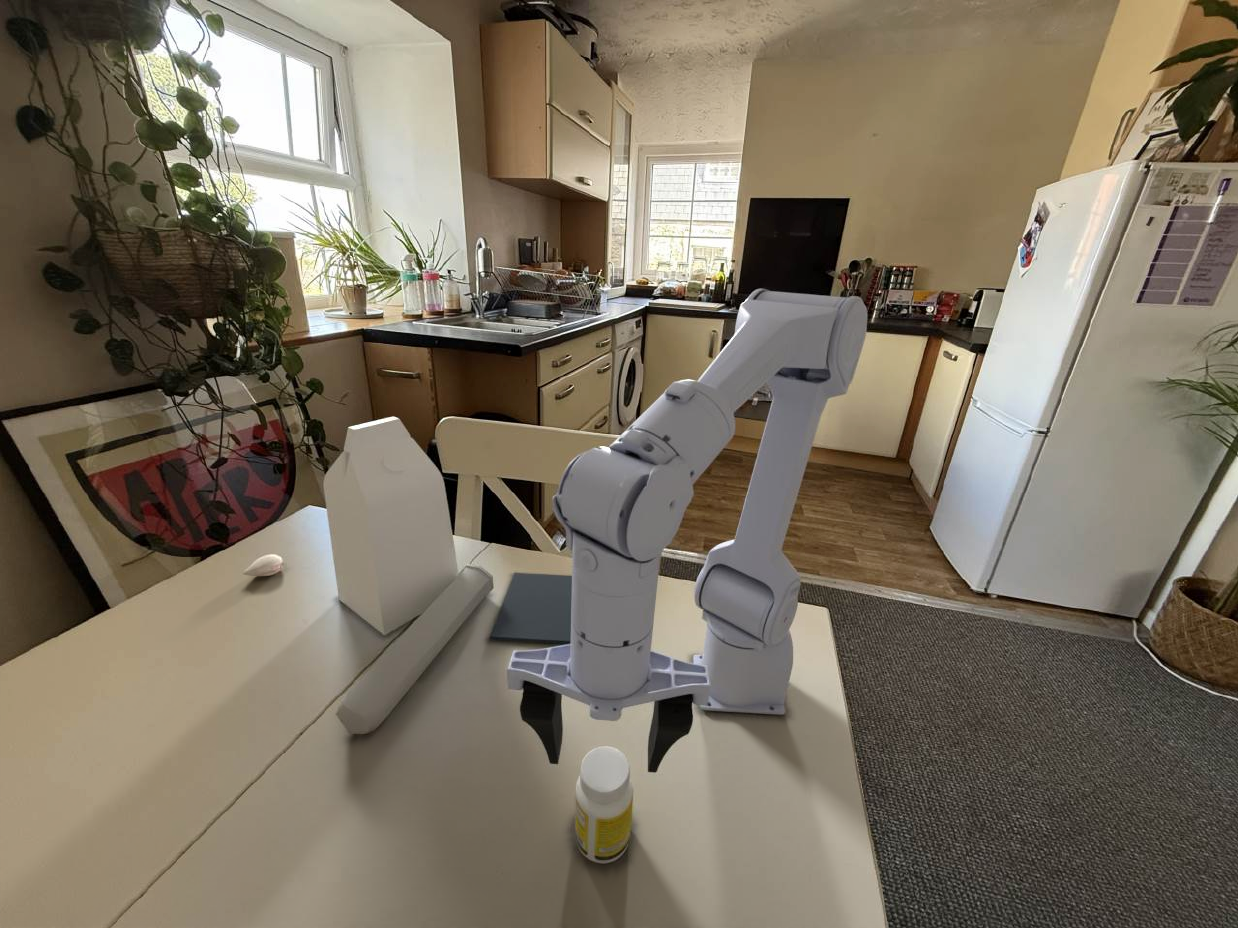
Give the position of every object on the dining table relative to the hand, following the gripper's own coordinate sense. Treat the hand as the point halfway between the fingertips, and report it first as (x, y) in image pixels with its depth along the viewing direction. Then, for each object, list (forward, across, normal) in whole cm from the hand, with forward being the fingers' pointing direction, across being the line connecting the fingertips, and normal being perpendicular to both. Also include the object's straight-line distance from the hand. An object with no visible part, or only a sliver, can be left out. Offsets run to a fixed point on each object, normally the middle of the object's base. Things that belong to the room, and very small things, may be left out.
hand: (603, 756), depth 39 cm
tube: (+10, -23, +19) cm, 31 cm away
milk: (+10, -31, +30) cm, 44 cm away
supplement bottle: (+10, 0, 0) cm, 10 cm away
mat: (+9, -9, +29) cm, 32 cm away
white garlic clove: (+10, -53, +32) cm, 63 cm away
